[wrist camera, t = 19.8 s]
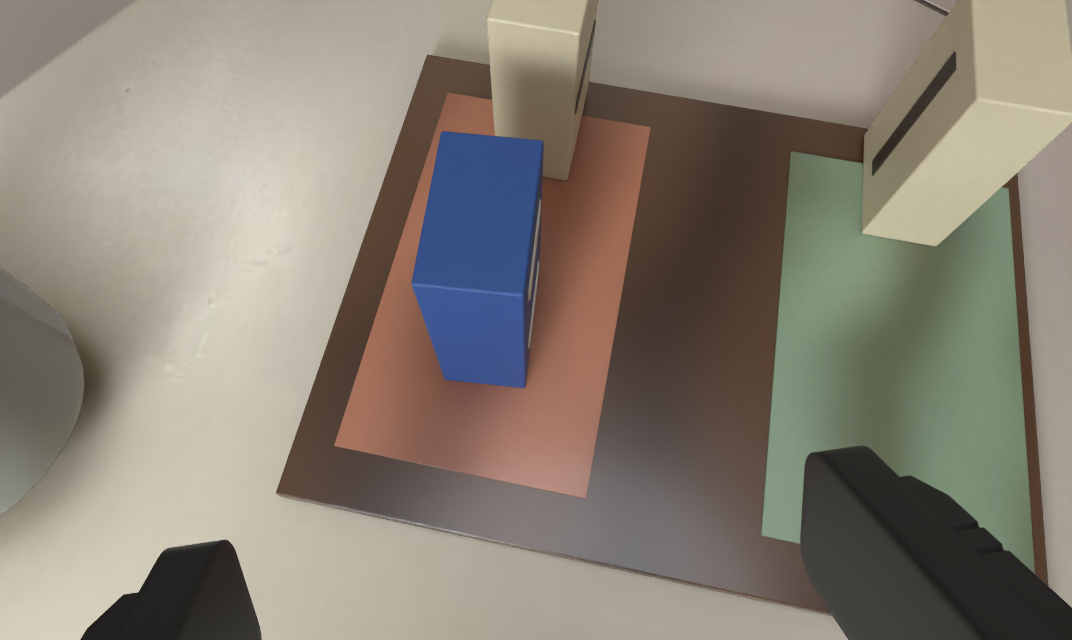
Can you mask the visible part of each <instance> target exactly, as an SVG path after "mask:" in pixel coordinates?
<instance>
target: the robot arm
mask: <svg viewBox="0 0 1072 640" xmlns="http://www.w3.org/2000/svg"><path fill="white" fill-rule="evenodd" d="M1002 545H1003V544H1002V543H1000V542H999V541H998V540H997V539H996V538H995V537H994V536H993V535H992V534H991V533H990V532H989V531H987V530H986V529H985V528H984V527H983V528H980V527H979V525H978V521H977V520H975V519H974V518H973V517H972V516H971V515H970V514H969V513H968V512H967V511H966V510H965V509H963V508H962V507H961V506H960V505H959V504H958V503H957V502H956V501H955V500H954V499H953V498H951V497H950V496H949V495H947V494H946V493H944V492H942V491H940V490H938V489H936V488H934V487H932V486H930V485H928V484H926V483H924V482H923V481H921V480H919V479H917V478H915V477H913V476H911V475H909V476H902V477H899V476H898V475H897V474H896V473H895V472H894V471H893V470H892V469H891V468H890V467H889V466H888V465H887V464H886V463H885V462H884V461H883V460H882V459H881V458H880V457H879V456H878V455H877V454H876V453H875V452H874V451H873V450H871V449H870V448H869V447H867V446H864V445H860V446H853V447H846V448H839V449H833V450H826V451H819V452H812V453H810V454H809V455H808V456H807V458H806V461H805V467H804V482H803V499H802V516H801V533H800V547H801V554H802V559H803V563H804V566H805V569H806V572H807V574H808V577H809V579H810V581H811V583H812V585H813V587H814V588H815V590H816V591H817V593H818V594H819V596H820V597H821V599H822V600H823V602H824V603H825V605H826V606H827V608H828V609H829V611H830V612H831V614H832V616H833V617H834V619H835V620H836V622H837V623H838V625H839V626H840V628H841V629H842V631H843V632H844V634H845V635H846V637H847V638H848V640H1072V608H1071V607H1070V606H1069V605H1068V604H1067V603H1066V602H1065V601H1064V600H1063V599H1061V598H1060V597H1059V596H1058V595H1057V594H1056V593H1055V592H1054V591H1053V590H1052V589H1051V588H1049V587H1048V586H1047V585H1046V584H1045V583H1044V582H1043V581H1042V580H1041V579H1040V578H1039V577H1038V576H1036V575H1035V574H1034V573H1033V572H1032V571H1031V570H1030V569H1029V568H1028V567H1027V566H1026V565H1024V564H1023V563H1022V562H1021V561H1020V560H1019V559H1018V558H1017V557H1016V556H1015V555H1014V554H1012V553H1011V552H1010V551H1009V550H1007V551H1005V550H1004V549H1003V546H1002ZM81 640H262V639H261V631H260V626H259V622H258V619H257V616H256V613H255V610H254V607H253V604H252V601H251V598H250V594H249V591H248V588H247V585H246V582H245V579H244V576H243V573H242V569H241V566H240V563H239V560H238V557H237V554H236V551H235V549H234V547H233V545H232V544H231V543H230V542H229V541H228V540H220V541H213V542H206V543H199V544H192V545H186V546H179V547H172V548H167V549H166V550H164V551H163V552H162V553H161V554H160V556H159V557H158V559H157V561H156V563H155V564H154V566H153V568H152V570H151V571H150V573H149V575H148V577H147V578H146V580H145V582H144V584H143V586H142V587H141V589H140V591H139V592H138V593H132V594H125V595H123V596H122V597H121V598H119V599H118V600H117V601H116V602H115V603H114V604H113V605H112V606H111V607H110V608H109V609H108V610H107V611H106V612H105V613H103V614H102V615H101V616H100V617H99V618H98V619H97V620H96V621H95V622H94V623H93V624H92V625H91V626H90V627H88V628H87V630H86V632H85V633H84V635H83V636H82V638H81Z"/></svg>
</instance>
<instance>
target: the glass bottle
mask: <svg viewBox="0 0 1072 640" xmlns="http://www.w3.org/2000/svg"><path fill="white" fill-rule="evenodd" d="M83 394H84V371H83V365H82V362H81V359H80V356H79V353H78V351H77V348H76V345H75V342H74V340H73V337H72V335H71V333H70V331H69V329H68V327H67V325H66V323H65V321H64V320H63V318H62V316H61V314H60V313H58V312H57V311H56V310H55V309H54V308H52V307H51V306H50V305H49V304H48V303H47V302H45V301H44V300H43V299H41V298H40V297H38V296H37V295H36V294H35V293H34V292H33V291H31V290H30V289H29V288H28V287H27V286H26V285H25V284H23V283H22V282H20V281H19V280H17V279H16V278H14V277H13V276H12V275H11V274H9V273H8V272H7V271H6V270H4V269H3V268H1V267H0V515H1V514H3V513H4V512H5V511H7V510H8V509H10V508H11V507H12V506H13V505H15V504H16V503H17V502H18V501H19V500H21V499H22V498H23V497H24V496H25V495H26V494H27V493H28V492H29V491H30V490H31V489H32V488H33V487H34V486H35V485H36V484H37V483H38V482H39V481H40V479H41V478H42V477H43V476H44V474H45V473H46V472H47V471H48V469H49V468H50V467H51V465H52V464H53V463H54V461H55V460H56V458H57V456H58V455H59V453H60V452H61V450H62V449H63V447H64V446H65V444H66V442H67V440H68V438H69V437H70V435H71V433H72V431H73V428H74V426H75V424H76V421H77V419H78V416H79V413H80V409H81V405H82V401H83Z"/></svg>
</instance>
